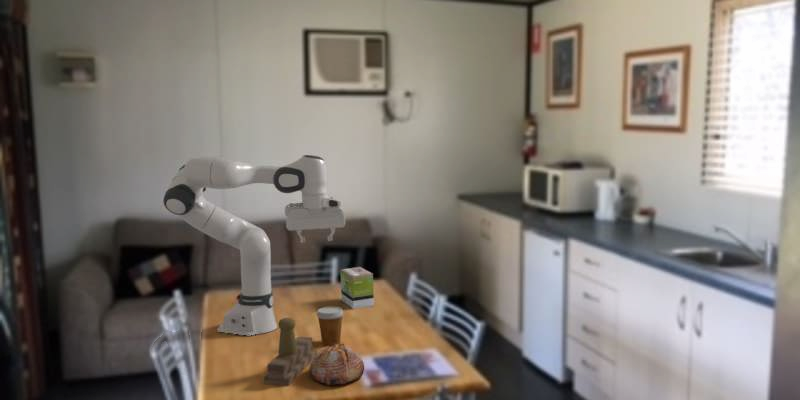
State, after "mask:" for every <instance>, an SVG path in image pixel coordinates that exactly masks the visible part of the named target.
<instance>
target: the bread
mask: <svg viewBox="0 0 800 400" xmlns="http://www.w3.org/2000/svg"><path fill="white" fill-rule="evenodd" d="M364 372H365V363H364V359H363V358H362V357H361V356H360V354H359V353H358V352H357V351H355V350H354V349H352V348H350V347H349V346H348V345H346V343H339V344H337V343H336V342H335V343H334V345H328V346H327V347H325V348H324V349H321V350H320V351H319V352H317V355H316V356H315V358H314V359H313V360H312V361H311V362H310V367H309V375H311V377H312V378H313V380H314V381H316V382H318V383H322V384H325V385H327V386H332V387H334V386H341V385H346V384H348V383H351V382H354V381H357V380H359V379H361V377H362V376H363V375H364Z"/></svg>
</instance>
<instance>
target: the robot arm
mask: <svg viewBox="0 0 800 400" xmlns="http://www.w3.org/2000/svg"><path fill="white" fill-rule="evenodd" d="M327 172H328V171H327V166H326V161H325V160H324V158H323V157H320V156H318V155H311V154H304V155H302V156H301V157H300V158H299V159H297V160H295V161H293V162H291V163H289V164H286V165H283V166H269V165H268V166H267V165H257V164H252V163H247V162H245V161H239V160H236V159H232V158H226V157H220V156H218V157H217V156H197V157H191V158H190V159H188V160H187V161H186V163H185V164H183V165H182V166H181V167H180V168H179V170H178V172H176V174H175V175H174V177H173V178H172V179H171V182H170V184H169V186H168V188H167V190H166V191H165V193H164V195H163V200H162V201H163V206H164V207H165V208H166V210H168V211H169V212H170V213H172V214H173V215H178V216H179V217H180V218H181V219H182V220H183V221H184V222H186V223H187V224H189V225H190V226H192V227H193V228H195V229H196V230H198V231H200V232H202V233H203V234H205V235H206V236H209V237H211V238H212V239H215V240H216V241H218V242H220V243H224V244H226V245H228V246H231V247H232V248H233V247H234V248H235V249H237V250H239V252H240V253H239V254H240V278H241V281H240V282H241V292H240V294H238V295H237V296H236V297H235V301H237V303H236V304H234V306H233V307H232V308H230V309H229V310H227V311H226V313H225V314H224V316H223V323H222V324H220V325H219V326H218V328H217V332H218V331H219V332H225V333H224V334H227V333H233V334H232V335H235V334H239V335H238V336H243V335H246V336H245V337H250V336H251V335H252V336H255V334H256V335H261V334H266V333H269V332H273V331H274V330H276V329H277V328H278V324H277V320H276V317H275V314H274V313H275V312H274V308H273V307H274V294H273V290H272V280H271V279H272V275H271V268H272V267H271V265H272V264H271V263H272V259H271V256H272V253H271V241H270V239H269V237H268V235H267V233H266V231H265V230H264V229H262V228H261V227H259V226H256V225H255V224H253V223H251V222H249V221H247V220H245V219H243V218H240V217H239V216H236V215H234V214H232V213H231V212H229V211H227V210H225V209H223V208H221V207H220V206H218V205H216V204H215V203H213V202H210V201H209V200H207V199H206V198H205V197H204V194H203V192H205V191H206V190H207V188H208V189H214V190H215V189H216V190H217V189H218V190H228V189H235V188H240V187H243V186H247V185H252V184H266V185H268V184H269V185H274V187H275V189H276V190H277V191H279V192H280V193H283V194H293V193H297V192H301V202H295V203H289V204H287V205H285V207H284V214H285V216H286V229H287V231H289V232H291V231H292V232H293V231H296V234H297V235H298V236H299V239H300V243H301V244H304V243H306V237H305V236H302V231H306V230H323V229H330V231H331V233H330V234H329V235H327V242H332V241H333V236H334V234H335V233H336V229H339V228H340V229H341V228H344V227H345V225H346V217H345V211H344V210H343V208H342V207H341V206H342V202H341V200H339V199H337V198H334V197H332V196H329V195H328V189H327V182H328V174H327ZM219 332H218V333H219ZM252 336H251V337H252Z"/></svg>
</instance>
